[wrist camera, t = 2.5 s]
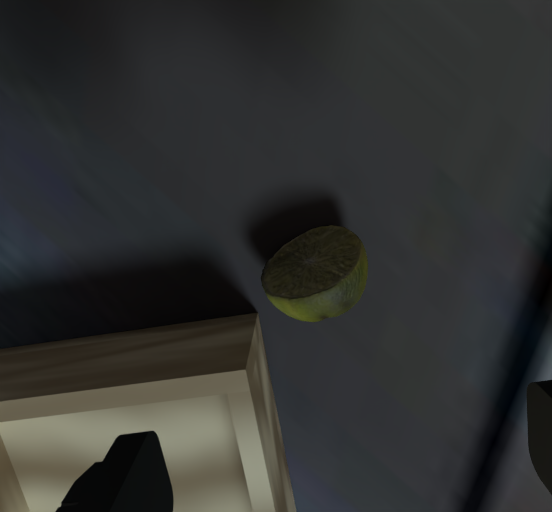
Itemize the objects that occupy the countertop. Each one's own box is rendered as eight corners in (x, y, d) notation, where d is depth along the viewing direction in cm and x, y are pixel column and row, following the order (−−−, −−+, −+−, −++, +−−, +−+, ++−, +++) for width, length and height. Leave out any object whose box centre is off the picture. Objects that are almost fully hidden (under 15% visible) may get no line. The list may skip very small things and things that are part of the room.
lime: (255, 276, 23) (245, 313, 19) (301, 197, 22) (303, 214, 17) (327, 315, 24) (335, 362, 19) (377, 240, 23) (398, 269, 18)
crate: (-33, 353, 25) (-130, 418, 20) (257, 312, 24) (245, 369, 18) (55, 579, 30) (-3, 687, 24) (305, 556, 28) (307, 665, 22)
